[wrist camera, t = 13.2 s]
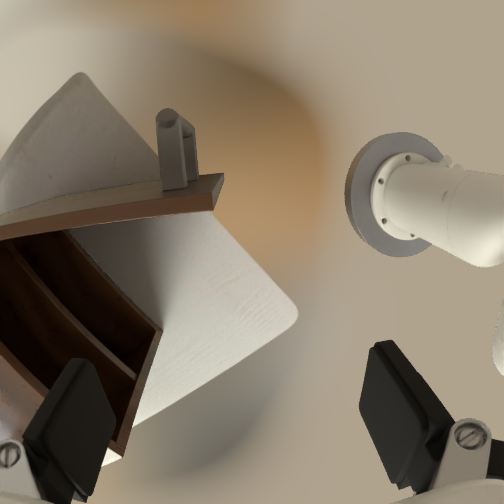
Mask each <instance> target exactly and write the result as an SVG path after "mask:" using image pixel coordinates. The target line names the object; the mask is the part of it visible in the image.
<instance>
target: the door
mask: <svg viewBox="0 0 504 504" xmlns="http://www.w3.org/2000/svg"><path fill="white" fill-rule="evenodd" d="M156 131H157V143H158V155H159V165H160V175H161V180H158V181H150V182H143V183H137V184H130V185H124V186H118V187H112V188H106V189H100V190H94V191H89V192H84V193H78V194H73V195H68V196H63V197H58V198H54V199H49V200H46V201H43V202H39V203H36V204H33V205H30V206H27V207H24V208H21V209H18V210H15V211H12V212H9V213H6V214H3V215H0V240H4V239H10V238H15V237H21V236H27V235H32V234H38V233H44V232H51V231H57V230H63V229H70V228H76V227H83V226H90V225H97V224H104V223H111V222H119V221H126V220H134V219H142V218H150V217H159V216H167V215H176V214H185V213H195V212H204V211H213V210H214V207H215V205H216V202H217V199H218V196H219V193H220V190H221V188H222V185H223V182H224V173H217V174H207V175H199V172H198V161H197V151H196V139H195V129H194V127H193V126H192V125H191V124H190V123H189V122H188V121H187V120H185V119H184V118H183V117H182V116H180V115H179V114H178V113H177V112H176V111H174V110H173V109H169V108H167V109H163V110H161V111H160V112H159V113H158V115H157V117H156Z"/></svg>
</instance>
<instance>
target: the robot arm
mask: <svg viewBox="0 0 504 504" xmlns="http://www.w3.org/2000/svg"><path fill="white" fill-rule="evenodd" d="M405 157H406V159H405ZM451 163H452V160H451V158H450V157H449V156H447V155H446V156H444V157H443V158H442V159H441V160H440V162H439V163H435V162H430V161H429V160H428V159H427V158H425V157H424V156H422V155H419V154H416V153H409V152H407V153H399V154H395V155H393V156H392V157H390V158H388V159H387V160H386V161H385V162H383V164H382V165H381V166H380V167H379V169H378V170H377V172H376V174H375V176H374V179H373V182H372V186H371V192H370V202H371V208H372V212H373V215H374V217H375V219H376V221H377V223H378V225H379V226H380V227H381V228H382V229H383V230H384V231H385V232H386V233H388V234H389V235H391V236H393V237H395V238H398V239H401V240H413V239H416V238H419V237H420V238H422V239H424V240H426V241H428V242H430V243H431V244H433V245H435V246H437V247H439V248H442V249H443V250H445V251H447V252H449V253H451V254H453V255H455V256H456V257H458V258H460V259H462V260H464V261H466V262H468V263H470V264H472V265H475V266H478V267H492V266H495V265H498V264H501V263H503V262H504V175H497V174H491V173H485V172H478V171H471V170H464V168H463V167H462V166H461V165H459V164H456V165H455V166H454V167H453V168H449V167H448V166H449V165H450V164H451ZM378 180H380V181H379V182H378ZM382 219H383V220H382ZM492 354H493V360H494V363H495V365H496V367H497V369H498V370H499V372H500V373H501V374H502V375H503V376H504V296H503V301H502V305H501V310H500V314H499V318H498V322H497V326H496V330H495V335H494V340H493V349H492ZM359 410H360V413H361V416H362V418H363V420H364V422H365V425H366V427H367V429H368V431H369V434H370V436H371V438H372V440H373V443H374V445H375V447H376V449H377V451H378V454H379V456H380V458H381V461H382V463H383V465H384V467H385V470H386V472H387V475H388V477H389V479H390V481H391V483H393V484H394V483H396V484H397V486H398V489H399V490H400V489H403V488H405V487H408V486H411V487H412V490H413V491H415V492H414V494H413V496H412V497H409V498H406V499H403V500H401V501H397V502H394V503H391V504H504V441H500V440H495V439H491V432H490V430H489V428H488V427H487V426H486V425H485V424H484V423H483V422H481V421H479V420H476V419H472V418H471V419H470V418H466V419H461V420H459V421H458V422H455V421H454V420H453V418H452V417H451V415H450V414H449V412H448V411H447V410H446V409H445V407H444V406H443V404H442V403H441V401H440V400H439V399H438V397H437V396H436V395H435V393H434V392H433V391H432V389H431V388H430V387H429V385H428V384H427V383H426V381H425V380H424V379H423V377H422V376H421V375H420V374H419V373H418V372H417V371H416V370H415V368H414V367H413V366H412V365H411V363H410V362H409V361H408V359H407V358H406V357H405V356H404V354H403V353H402V352H401V350H400V349H399V348H398V346H397V345H396V344H395V342H394V341H393V340H387V341H381V342H376V343H375V345H374V347H372V348H370V350H369V356H368V361H367V367H366V372H365V378H364V383H363V388H362V392H361V397H360V402H359ZM115 426H116V417H115V415H114V412H113V410H112V408H111V406H110V404H109V401H108V399H107V397H106V394H105V392H104V389H103V387H102V385H101V382H100V380H99V377H98V375H97V372H96V369H95V367H94V365H93V364H92V363H90V362H89V360H88V359H82V358H72V359H71V360H70V361H69V363H68V364H67V365H66V367H65V368H64V370H63V371H62V373H61V374H60V376H59V377H58V379H57V380H56V382H55V383H54V385H53V386H52V388H51V389H50V391H49V393H48V394H47V396H46V397H45V399H44V400H43V402H42V404H41V405H40V407H39V408H38V410H37V412H36V413H35V415H34V416H33V418H32V420H31V421H30V423H29V425H28V426H27V428H26V430H25V431H24V433H23V435H22V438H23V439H24V440H23V442H22V444H21V443H20V442H19V441H18V440H15V439H5V440H2V441H0V504H71V501H72V499H74V500H77V501H81V502H85V503H86V502H87V498H88V496H91V495H92V494H93V491H94V487H95V485H96V482H97V478H98V475H99V472H100V469H101V466H102V463H103V460H104V457H105V455H106V452H107V449H108V446H109V443H110V440H111V437H112V435H113V432H114V429H115Z"/></svg>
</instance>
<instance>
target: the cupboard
mask: <svg viewBox="0 0 504 504" xmlns="http://www.w3.org/2000/svg"><path fill="white" fill-rule="evenodd" d="M162 334H163V331H162V330H161V329H160V328H159V327H158V326H157V325H156V324H155V323H154V322H153V321H152V320H151V319H150V318H148V317H147V316H146V315H145V314H144V313H143V312H142V311H141V310H140V309H139V308H138V307H137V306H136V305H135V304H134V303H133V302H132V301H131V300H130V299H129V298H128V297H127V296H126V295H125V294H124V293H123V292H122V291H121V290H120V288H119V287H118V286H117V285H116V284H115V283H114V282H113V281H112V280H111V279H110V278H109V277H108V276H107V275H106V274H105V273H104V271H103V270H102V269H101V268H100V267H99V266H98V265H97V264H96V263H95V262H94V261H93V259H92V258H91V257H90V256H89V255H88V254H87V253H86V251H85V250H84V249H83V248H82V247H81V246H80V245H79V243H78V242H77V241H76V240H75V239H74V238H73V236H72V235H71V234H70V233H69V232H68V230H67V229H63V230H57V231H51V232H44V233H38V234H32V235H27V236H21V237H15V238H10V239H4V240H0V441H2V440H5V439H15V440H18V441H19V442H20V443H21V444H22V442H23V440H24V439H23V438H22V435H23V433H24V431H25V430H26V428H27V426H28V425H29V423H30V421H31V420H32V418H33V416H34V415H35V413H36V412H37V410H38V408H39V407H40V405H41V404H42V402H43V400H44V399H45V397H46V396H47V394H48V393H49V391H50V389H51V388H52V386H53V385H54V383H55V382H56V380H57V379H58V377H59V376H60V374H61V373H62V371H63V370H64V368H65V367H66V365H67V364H68V363H69V361H70V360H71V359H72V358H82V359H88V360H89V362H90V363H92V364H93V365H94V367H95V369H96V372H97V375H98V377H99V380H100V382H101V385H102V387H103V389H104V392H105V394H106V397H107V399H108V401H109V404H110V406H111V408H112V410H113V412H114V415H115V417H116V426H115V429H114V432H113V435H112V437H111V440H110V443H109V446H108V449H107V452H106V455H105V457H104V460H103V463H102V466H105V465H107V464H109V463H112V462H114V461H116V460H119V459H121V458H123V456H124V452H125V449H126V445H127V442H128V438H129V435H130V432H131V428H132V425H133V422H134V419H135V415H136V412H137V409H138V406H139V402H140V399H141V396H142V393H143V390H144V387H145V384H146V381H147V378H148V375H149V372H150V369H151V366H152V363H153V360H154V357H155V354H156V351H157V348H158V345H159V342H160V339H161V336H162ZM102 466H101V467H102Z"/></svg>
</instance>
